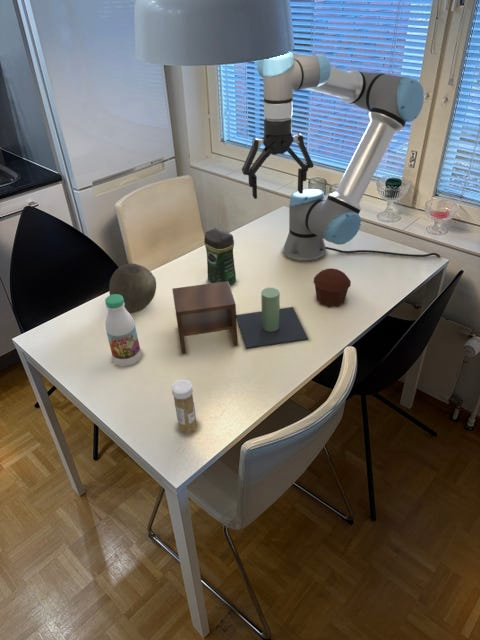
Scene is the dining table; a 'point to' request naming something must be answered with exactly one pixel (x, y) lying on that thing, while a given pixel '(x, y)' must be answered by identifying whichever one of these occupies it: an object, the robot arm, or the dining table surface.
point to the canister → (270, 309)
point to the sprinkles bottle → (184, 406)
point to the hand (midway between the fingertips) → (277, 194)
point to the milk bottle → (121, 332)
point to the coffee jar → (220, 256)
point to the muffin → (331, 287)
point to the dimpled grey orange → (133, 286)
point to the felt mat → (286, 333)
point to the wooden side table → (205, 310)
